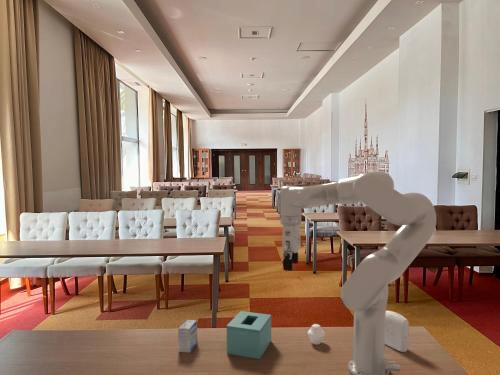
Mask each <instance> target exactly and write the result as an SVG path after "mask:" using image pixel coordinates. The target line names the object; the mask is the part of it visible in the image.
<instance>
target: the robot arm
mask: <svg viewBox="0 0 500 375" xmlns="http://www.w3.org/2000/svg"><path fill="white" fill-rule="evenodd" d="M394 188H395V183H394V179H393V178H392V176H391V175H390V174H388V173H386V172H385V171H370V172H369V171H368V172H364V173H361V174H359V175H357V174H356V175H353V176H347V177H342V178H340V179H339V180H337V181H334V182H329V183H323V184H316V185H314V184H313V185H305V186H298V185H284V186H282V187H280V191H279V192H280V195H279V197H280V198H279V199H280V200H279V202H280V207H279V208H280V210H279V212H280V214H279V215H280V218H279V219H280V221H279V222H280V225H282V236H281V237H282V238H281V239H282V240H281V241H282V242H281V244H282V245H281V246H282V248H281V249H282V252H283V255H282V256H283V257H282V261H283V262H282V269H283V270H284V271H292V270H293V264H298V263H299V253H298V252H299V251H300V249H301V248H302V247H301V226H300V225H302V209H311V208H317V207H322V206H328V205H335V204H344V205H349V204H350V205H351V204H356V203H363V204H364V205H366V206H367V207H368V208H370V209H371V210H372V211H373V212H375V213H377V214H378V215H379V216H380V217H382V218H383V219H385V220H386V221H388V222H389V223H391V224H393V225H395V226H398V227H399V226H400V227H399V228H398V229H397V231H395V233H394V234H393V235H392V236H391V238H390V239H389V240H388V242H387V243H386V244H385V245H384V246H383V247H382V248H380V249H379V250H377V251H374V252H372V253H370V254H369V255H367V256H365V257H364V259H362V260H361V261H360V263H359V264H358V265H357V266H356V268H355V269H354V270H353V271H352V273H351V274H350V275H349V277H348V278H346V279H347V280H346V281H345V282H344V283H343V285H342V287H341V292H340V295H341V300H342V303H343V304H344V306H345V307H346V308H347V309H348V310H350V311H354V312H353V350H352V352H353V358H352V359H351V360H350V361H348V364H347V369H348V371H349V372H350V373H351V374H352V375H390V371H392V372H398V373H400V372H401V365H400V364H396V361H394V360H388V359H386V358H387V356H386V354H385V351H386V344H385V317H386V311H387V304H388V299H389V285H390V284H391V283H393V282H394V281H396V280H398V279H399V278H400V277H402V275H403V274H404V273H405V271H406V270H407V269H408V267H409V266H410V265H411V264H412V262H413V261H414V260H415V258H417V256H418V255H419V254H420V252H421V251H422V250H423V249H424V247H425V246H426V245H427V243H428V242H429V241H430V239H431V238H432V236H433V235H434V232H435V229H436V225H437V213H436V209H435V207H434V204H433V203H432V202H431V200H430V198H428V196H426V195H424V194H422V193H418V192H408V193H401V192H399V191H397V190H396V189H394Z"/></svg>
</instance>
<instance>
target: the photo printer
mask: <svg viewBox="0 0 500 375" xmlns="http://www.w3.org/2000/svg"><path fill="white" fill-rule="evenodd" d="M409 333H410V322H409V320H408V319H407V318H406V317H405V316H403V315H402V314H400V313H398V312H396V311H392V310H386V317H385V346H388V347H390V348H392V349H394V350H396V351H398V352H401V353H406V352H407V351H408V349H409V336H410V335H409Z"/></svg>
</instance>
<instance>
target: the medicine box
mask: <svg viewBox="0 0 500 375" xmlns="http://www.w3.org/2000/svg"><path fill="white" fill-rule="evenodd" d="M177 335H178V336H177V338H178V340H177V341H178V352H179V353H189V354H191V352H192V351H193V349H194V348H195V346H196V345H197V344H198V320H196V319H195V320H194V319H186V320H184V322H183V323H182V324H181V325H180V326H179V327H178V328H177Z"/></svg>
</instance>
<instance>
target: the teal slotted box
mask: <svg viewBox="0 0 500 375" xmlns="http://www.w3.org/2000/svg"><path fill="white" fill-rule="evenodd" d="M271 342H272V314H269V313H268V314H266V313H260V312H259V313H258V312H254V311H253V312H251V311H243V310H240V311H239V312H238V313H237V314H236V315H235V316H234V318H232V319H231V321H230V322H228V324H227V325H226V355H233V356H237V357H245V358H250V359H257V360H260V359H261V358H262V357H263V355H264V353H265V352H266V351H267V349H268V347H269V346H268V345H270V344H271ZM269 343H270V344H269ZM267 346H268V347H267ZM266 348H267V349H266Z"/></svg>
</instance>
